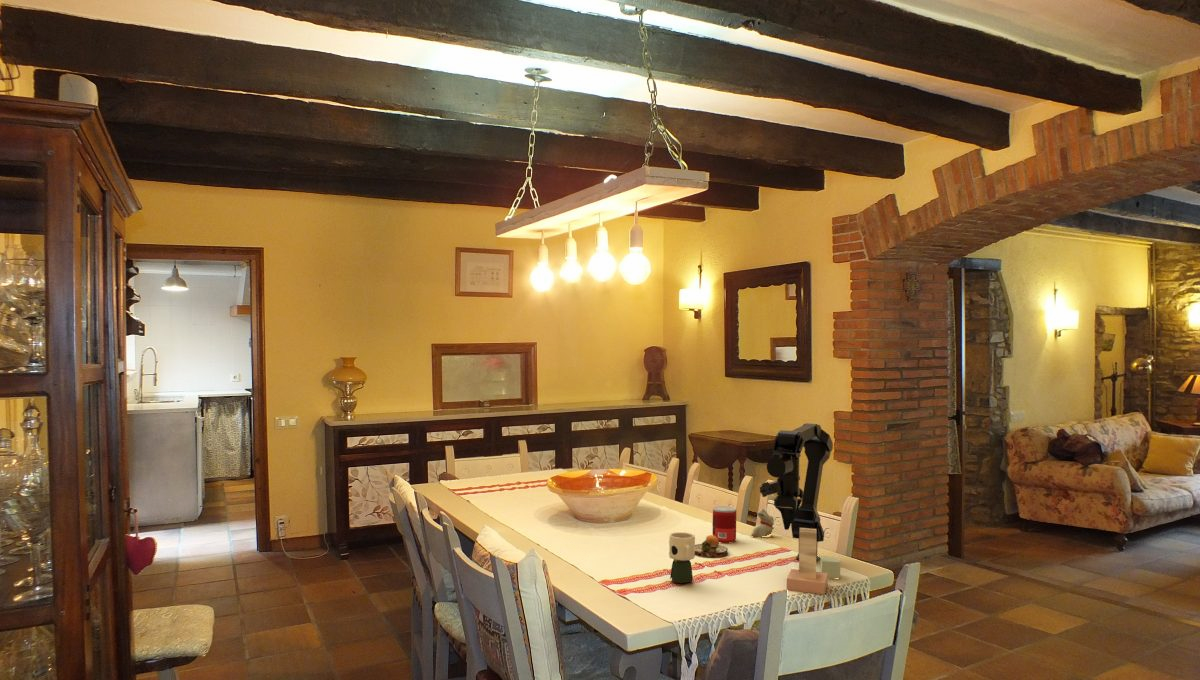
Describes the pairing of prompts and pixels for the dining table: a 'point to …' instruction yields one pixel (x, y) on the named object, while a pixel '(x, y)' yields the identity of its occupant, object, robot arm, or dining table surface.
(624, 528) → the dining table surface
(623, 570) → the dining table surface
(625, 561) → the dining table surface
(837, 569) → the sage block
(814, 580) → the terracotta tile
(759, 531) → the grey plush toy
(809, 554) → the beech post
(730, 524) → the canned food
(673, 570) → the character mug
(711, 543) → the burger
